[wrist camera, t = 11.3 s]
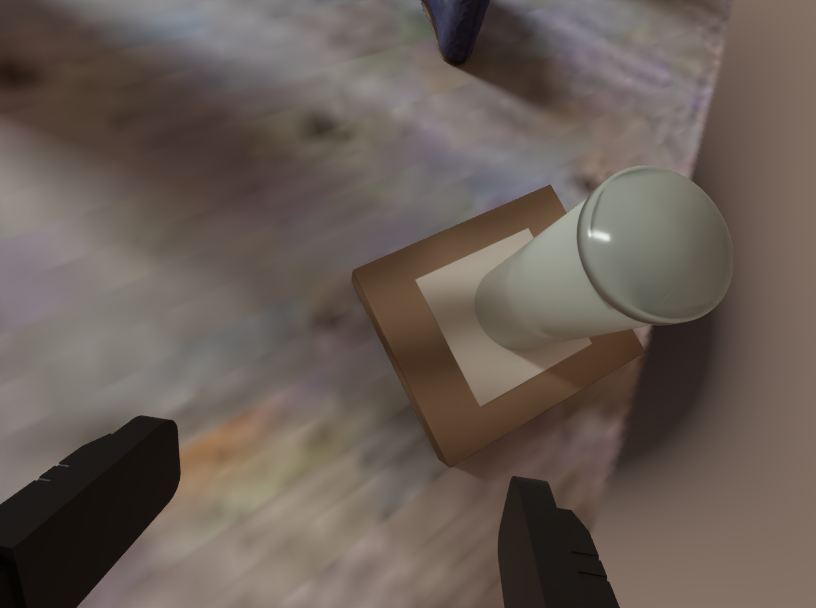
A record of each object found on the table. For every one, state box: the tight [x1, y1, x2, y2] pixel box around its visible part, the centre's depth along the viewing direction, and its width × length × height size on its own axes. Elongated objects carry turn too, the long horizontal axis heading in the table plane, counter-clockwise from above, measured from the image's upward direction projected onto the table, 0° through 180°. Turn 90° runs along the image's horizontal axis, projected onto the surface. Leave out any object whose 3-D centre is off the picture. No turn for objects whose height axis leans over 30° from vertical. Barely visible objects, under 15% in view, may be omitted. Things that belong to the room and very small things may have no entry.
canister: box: [475, 165, 734, 350], centre depth 18 cm, size 5×5×11 cm
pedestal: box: [352, 185, 645, 468], centre depth 25 cm, size 12×14×3 cm
